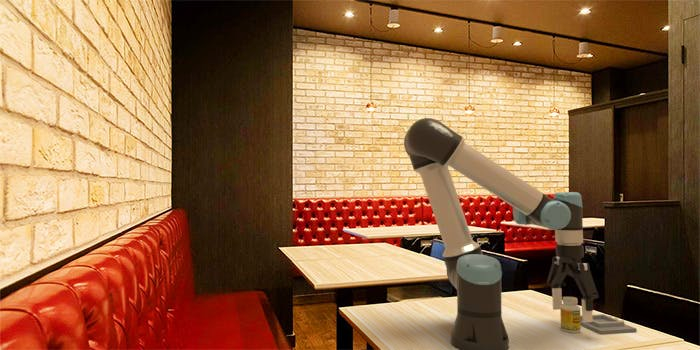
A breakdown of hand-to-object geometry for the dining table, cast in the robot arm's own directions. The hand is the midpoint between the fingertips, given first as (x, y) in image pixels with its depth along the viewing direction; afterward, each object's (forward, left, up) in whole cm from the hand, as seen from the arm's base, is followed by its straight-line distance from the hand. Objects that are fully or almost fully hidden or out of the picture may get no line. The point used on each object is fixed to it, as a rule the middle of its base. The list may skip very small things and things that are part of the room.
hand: (571, 315), depth 135 cm
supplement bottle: (0, 0, -5) cm, 5 cm away
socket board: (+12, +2, -4) cm, 13 cm away
